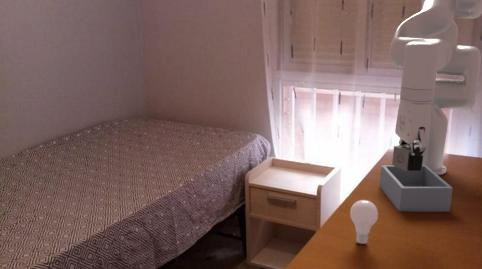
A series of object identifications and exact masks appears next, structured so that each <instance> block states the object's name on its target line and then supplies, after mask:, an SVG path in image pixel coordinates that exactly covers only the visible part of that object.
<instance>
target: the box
mask: <svg viewBox="0 0 482 269" xmlns="http://www.w3.org/2000/svg"><path fill="white" fill-rule="evenodd" d="M379 176H380V177H379V188H380V189H381V190H382V192H383V193H384V194H385V195H386V197H387V198H388V199H389V201H390V202H391V203H392V205H393V206H394V207H395V208H396V210H397V211H398V212H400V213H401V212H403V213H404V212H406V213H407V212H416V213H417V212H420V213H421V212H426V213H429V212H431V213H432V212H437V213H438V212H442V213H443V212H444V213H445V212H450V210H451V204H452V196H453V189H454V188H453V186H452V185H451V184H449V183H448V182H446V181H445V180H444V179H443V178H442V177H441V176H440V175H437V174H436V173H435V172H434V171H432V170H431V169H430V168H429V167H428V166H427V165H422V168H421V170H420V171H405V170H402V169H400V168H398V167H396V166H393V165H390V164H389V165H388V164H387V165H386V164H385V165H383V164H381V165H380V175H379Z"/></svg>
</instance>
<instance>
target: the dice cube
mask: <svg viewBox="0 0 482 269" xmlns="http://www.w3.org/2000/svg"><path fill="white" fill-rule="evenodd" d="M416 147H417V146H415V145H414V148H416ZM409 154H411V148H410V144H404V145H399V144H398V145H394V146H393V153H392V163H391V164H392V165H393V166H396V167H398V168H400V169H402V170H405V171H409V170H408V169H407V168H408V159H409ZM423 156H424V155H423ZM422 165H423V159H422Z"/></svg>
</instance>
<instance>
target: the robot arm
mask: <svg viewBox="0 0 482 269" xmlns="http://www.w3.org/2000/svg"><path fill="white" fill-rule="evenodd" d="M480 16H482V0H421V9H420V11H419V12H417V13H415V14H413V15H412V16H410V17H409V18H407V19H405V20H404V21H402V23H400V24H399V25H398V26H397V28H396V30H395V32H394V34H393V37H392V40H391V43H390V47H389V52H388V58H389V62H390V63H391V65H393V66H394V67H395V68H402V73H401V84H400V92H399V100H400V101H399V105H398V109H397V115H396V123H395V131H394V132H395V134H396V135H397V136H398V137H399V140H398V145H404V144H410V148H411V154H409V159H408V168H407V169H408V170H409V171H420V170H421V168H422V159H423V165H427V166H428V167H429V168H430V169H431V170H432V171H434V172H435V173H436V174H437V175H438V176H442V175H444V174H446V173H447V167H446V166H445V165H444V164H443V162H444V154H445V148H446V146H445V145H446V142H447V140H446V139H447V132H448V125H449V121H448V118H447V116H446V114H445V113H444V111H443V110H442V109H449V110H461V111H468V110H471V109H473V107H474V106H475V103H476V99H477V93H478V88H479V87H478V85H479V80H480V73H481V63H482V55H481V51H480V49H479V48H478V47H476V46H472V45H459V44H458V36H459V28H458V24H457V23H456V22H455V21H454V19H466V20H469V19H474V20H475V19H478V18H480ZM437 75H439V76H440V75H441V76H457V77H461V79H452V78H442V77H441V78H440V77H439V78H438V77H437ZM414 146H417V147H416V148H414ZM423 155H424V156H423Z"/></svg>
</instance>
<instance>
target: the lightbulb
mask: <svg viewBox="0 0 482 269" xmlns="http://www.w3.org/2000/svg"><path fill="white" fill-rule="evenodd" d="M349 216H350V218H351V221H352V223H353V224H354V227H355V228H354V229H355V232H356V237H355V238H356V239H355V241H356V243H358V244H359V245H364V244H367V243H368V239H369V233H370V231H371V228H372V227H373V226H374V224H375V223H376V222H377V221H378V218H379V211H378V207H377V206H376V205H375V203H373V202H372V201H370V200H368V199H359V200H357V201H355V202H354V203H353V204H352V206H351V207H350V211H349Z"/></svg>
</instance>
